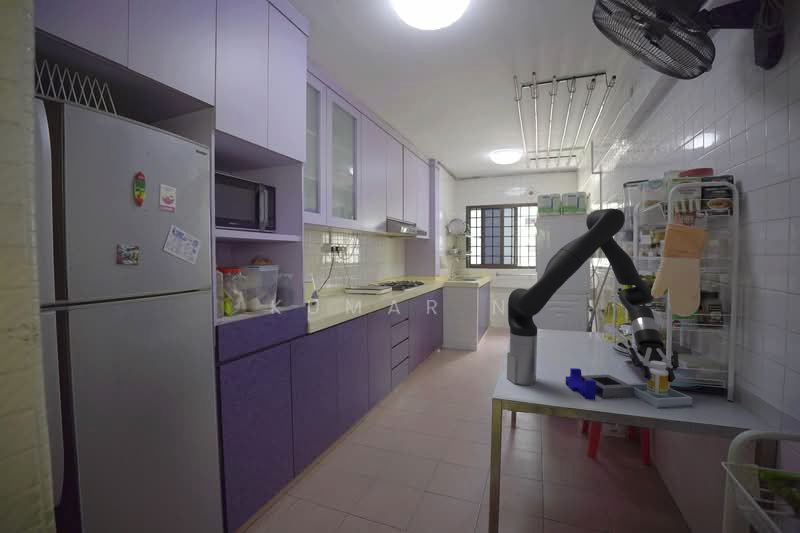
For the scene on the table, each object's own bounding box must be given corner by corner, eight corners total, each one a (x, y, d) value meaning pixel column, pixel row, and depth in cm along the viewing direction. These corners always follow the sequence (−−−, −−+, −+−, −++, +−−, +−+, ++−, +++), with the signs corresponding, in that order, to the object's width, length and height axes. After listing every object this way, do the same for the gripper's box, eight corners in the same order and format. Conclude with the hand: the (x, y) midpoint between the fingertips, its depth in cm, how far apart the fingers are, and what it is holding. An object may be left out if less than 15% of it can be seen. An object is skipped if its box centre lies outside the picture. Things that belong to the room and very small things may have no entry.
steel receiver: (602, 399, 107) (602, 388, 107) (579, 385, 118) (580, 375, 118) (633, 397, 109) (633, 386, 109) (608, 384, 120) (608, 374, 120)
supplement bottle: (667, 391, 109) (669, 362, 108) (667, 397, 105) (668, 366, 104) (647, 387, 112) (648, 358, 112) (645, 392, 108) (647, 362, 108)
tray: (656, 408, 101) (657, 399, 101) (625, 391, 113) (625, 384, 113) (691, 406, 103) (692, 397, 103) (656, 390, 115) (657, 382, 115)
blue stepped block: (565, 384, 119) (566, 368, 119) (578, 385, 119) (579, 368, 119) (580, 399, 107) (581, 380, 107) (595, 400, 107) (595, 381, 107)
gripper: (625, 326, 117) (637, 372, 106) (675, 329, 112) (692, 377, 101) (620, 337, 122) (630, 382, 111) (667, 341, 118) (682, 388, 107)
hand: (660, 379), depth 106 cm, fingers closed on supplement bottle, 5 cm apart
